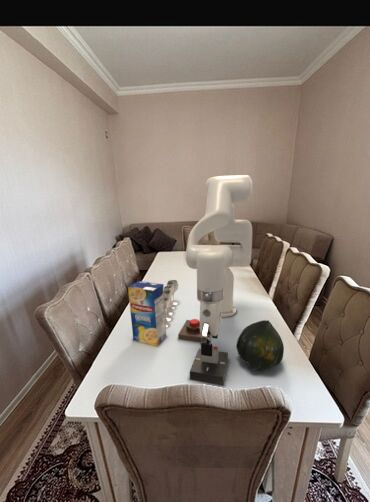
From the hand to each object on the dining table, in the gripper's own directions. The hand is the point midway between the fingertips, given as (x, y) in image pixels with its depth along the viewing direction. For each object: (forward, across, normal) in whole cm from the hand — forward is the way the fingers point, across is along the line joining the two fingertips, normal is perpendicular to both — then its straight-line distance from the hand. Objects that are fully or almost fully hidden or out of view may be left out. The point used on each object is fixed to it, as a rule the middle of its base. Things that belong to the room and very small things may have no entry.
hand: (209, 345), depth 76 cm
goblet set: (+8, +34, +26) cm, 44 cm away
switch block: (+8, +20, +10) cm, 24 cm away
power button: (+5, +20, +10) cm, 23 cm away
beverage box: (+9, +12, +26) cm, 30 cm away
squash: (+9, +8, -15) cm, 19 cm away
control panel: (+9, 0, 0) cm, 9 cm away
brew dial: (+6, 0, 0) cm, 6 cm away
